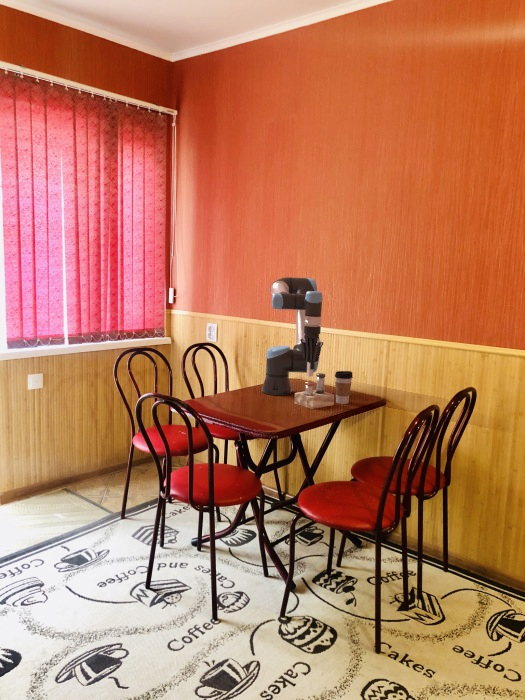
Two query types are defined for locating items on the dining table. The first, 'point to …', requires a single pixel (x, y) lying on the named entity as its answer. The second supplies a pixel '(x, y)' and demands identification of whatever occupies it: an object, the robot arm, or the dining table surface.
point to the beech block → (314, 399)
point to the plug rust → (309, 388)
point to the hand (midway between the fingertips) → (309, 375)
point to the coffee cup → (343, 386)
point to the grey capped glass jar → (320, 383)
